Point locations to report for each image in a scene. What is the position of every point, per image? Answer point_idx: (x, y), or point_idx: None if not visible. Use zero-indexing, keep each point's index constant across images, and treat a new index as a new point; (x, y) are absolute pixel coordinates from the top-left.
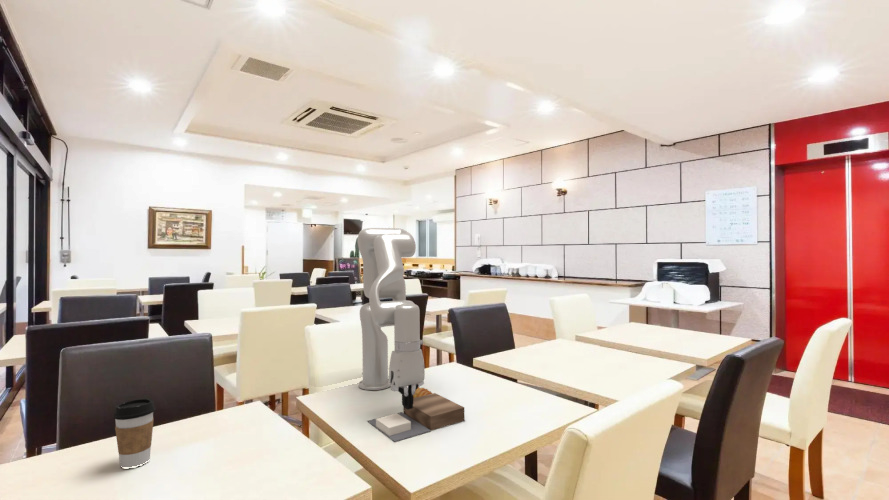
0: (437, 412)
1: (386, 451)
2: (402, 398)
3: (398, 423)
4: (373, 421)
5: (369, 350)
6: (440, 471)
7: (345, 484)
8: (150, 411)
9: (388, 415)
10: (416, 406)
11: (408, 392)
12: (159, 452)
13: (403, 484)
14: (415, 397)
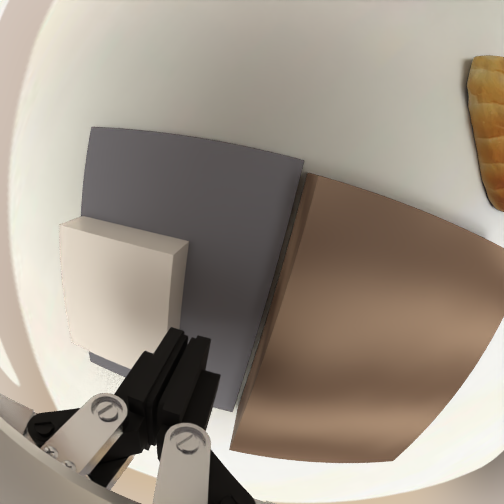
0: (285, 449)
1: (63, 366)
2: (123, 387)
3: (114, 349)
4: (101, 155)
5: None
6: (130, 463)
7: (3, 363)
8: None
9: (119, 240)
10: (285, 349)
11: (157, 448)
12: None
13: None
14: (483, 113)
